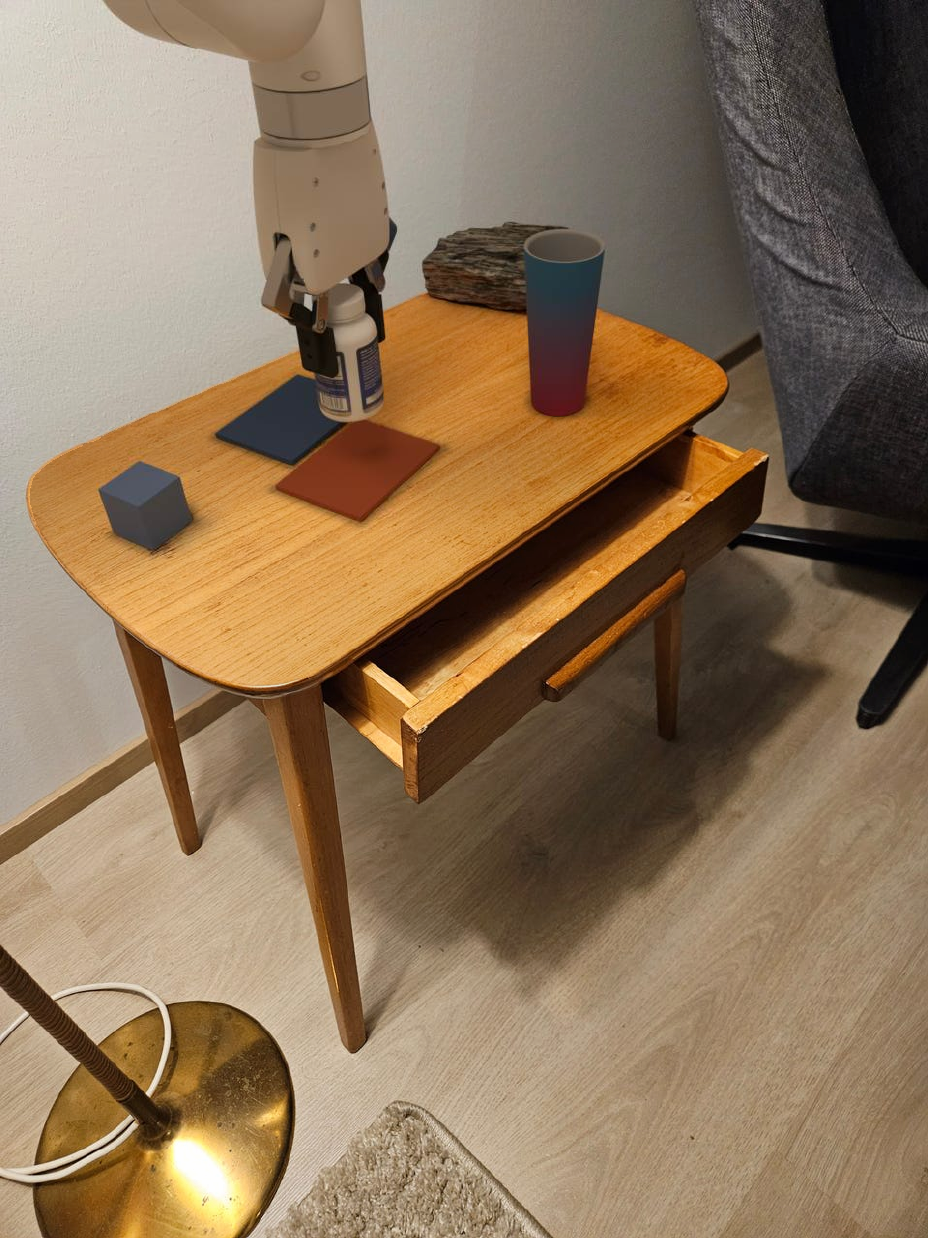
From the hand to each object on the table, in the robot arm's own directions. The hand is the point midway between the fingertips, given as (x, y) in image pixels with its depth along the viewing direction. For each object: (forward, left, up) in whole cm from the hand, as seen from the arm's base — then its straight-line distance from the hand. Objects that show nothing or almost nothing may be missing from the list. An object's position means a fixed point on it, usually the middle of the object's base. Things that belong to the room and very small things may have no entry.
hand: (344, 352), depth 76 cm
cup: (+18, -10, -11) cm, 24 cm away
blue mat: (+3, +10, -11) cm, 15 cm away
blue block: (-15, +10, -11) cm, 21 cm away
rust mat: (0, 0, -11) cm, 11 cm away
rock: (+35, +13, -5) cm, 38 cm away
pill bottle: (0, 0, -5) cm, 5 cm away
